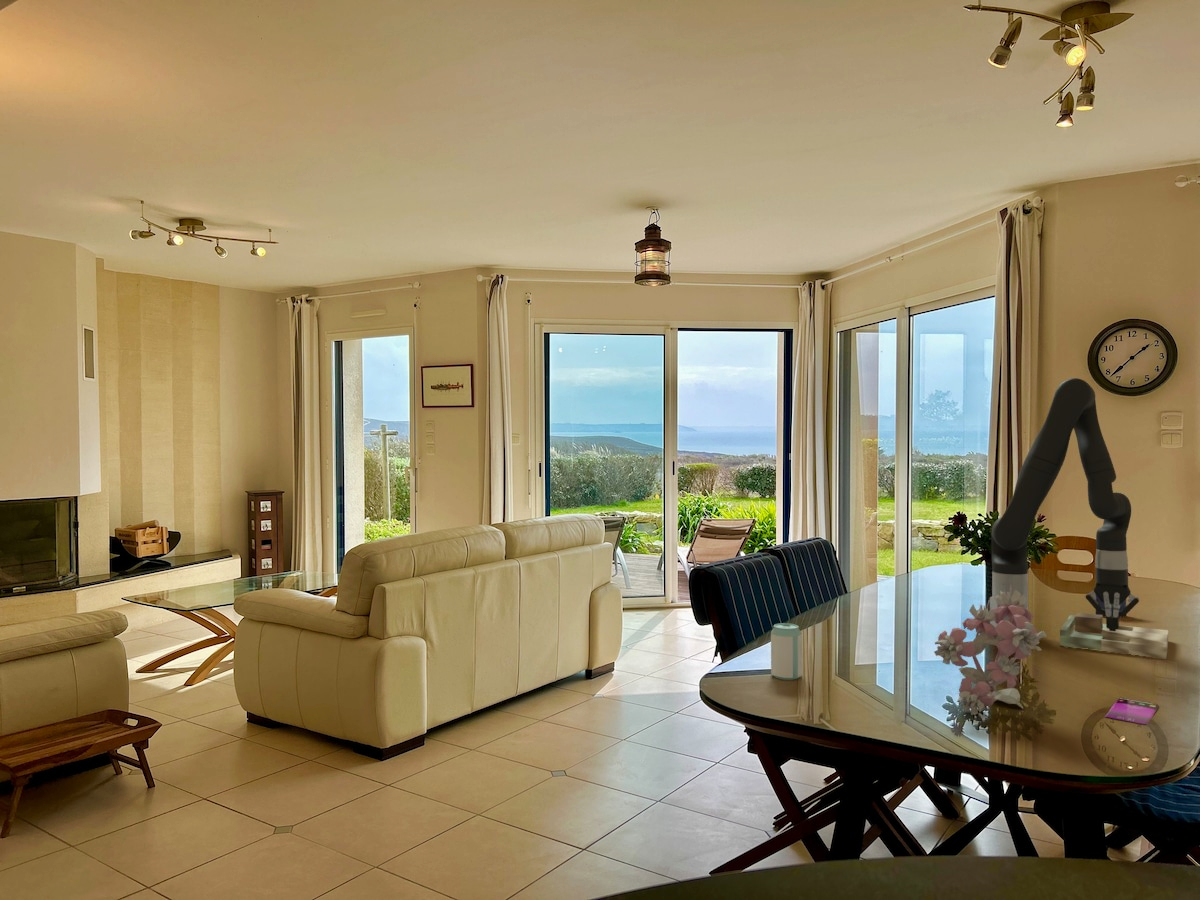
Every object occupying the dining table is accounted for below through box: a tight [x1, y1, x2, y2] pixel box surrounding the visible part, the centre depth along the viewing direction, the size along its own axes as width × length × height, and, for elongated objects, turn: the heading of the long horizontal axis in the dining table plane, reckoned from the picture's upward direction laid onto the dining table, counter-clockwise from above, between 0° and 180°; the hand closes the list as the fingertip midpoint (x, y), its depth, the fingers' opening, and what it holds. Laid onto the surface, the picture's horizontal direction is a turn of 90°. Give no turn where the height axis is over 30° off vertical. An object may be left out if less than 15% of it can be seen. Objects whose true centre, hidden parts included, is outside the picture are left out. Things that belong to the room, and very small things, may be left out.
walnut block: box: [1075, 612, 1104, 634], centre depth 229 cm, size 6×6×4 cm
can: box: [770, 622, 803, 681], centre depth 196 cm, size 7×7×12 cm
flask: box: [1095, 594, 1128, 618], centre depth 262 cm, size 9×3×11 cm, turn 88°
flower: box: [933, 585, 1048, 716], centre depth 174 cm, size 20×22×25 cm
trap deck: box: [1059, 614, 1169, 660], centre depth 226 cm, size 24×23×4 cm
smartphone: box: [1104, 697, 1159, 726], centre depth 169 cm, size 7×15×1 cm, turn 139°
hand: (1112, 630), depth 226 cm, fingers closed
